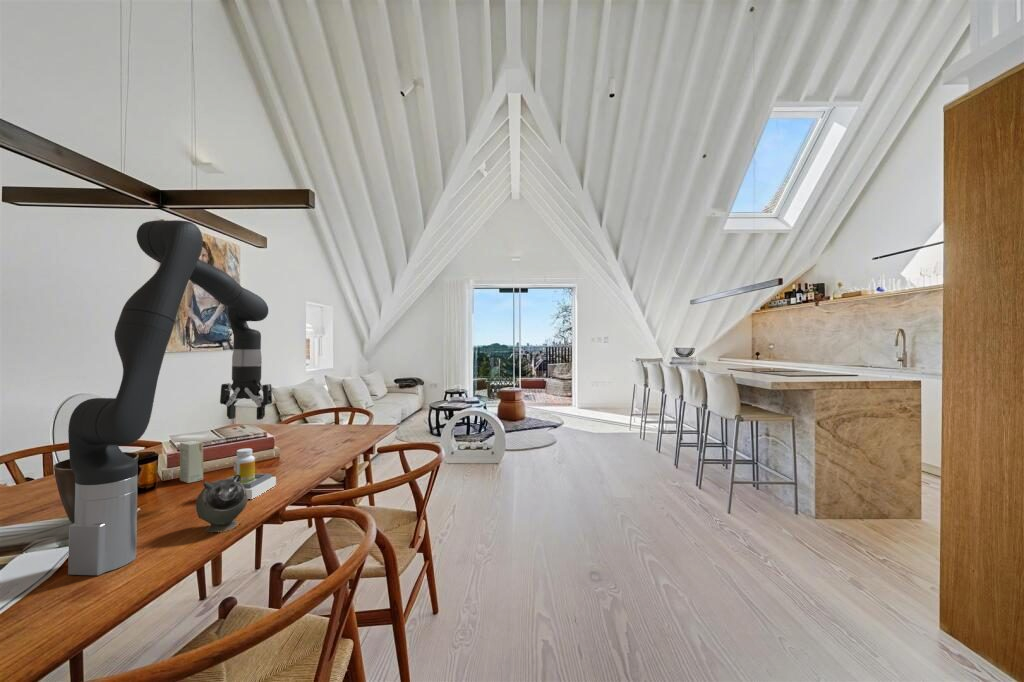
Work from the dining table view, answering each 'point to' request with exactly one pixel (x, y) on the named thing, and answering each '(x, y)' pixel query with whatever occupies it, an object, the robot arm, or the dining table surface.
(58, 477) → the plant pot
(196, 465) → the skincare box
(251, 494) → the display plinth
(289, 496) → the dining table surface
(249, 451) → the supplement bottle
